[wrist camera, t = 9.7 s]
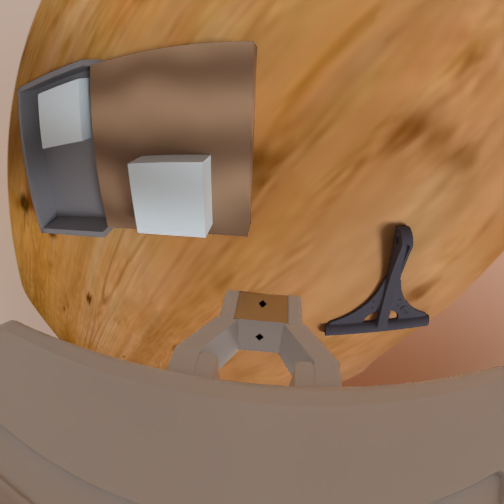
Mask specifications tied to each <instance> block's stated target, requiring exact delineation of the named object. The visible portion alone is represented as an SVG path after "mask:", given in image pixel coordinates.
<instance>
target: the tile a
mask: <svg viewBox="0 0 504 504" xmlns="http://www.w3.org/2000/svg"><path fill="white" fill-rule="evenodd" d="M38 108H39V121H40V131H41V140H42V148H43V149H45V148H50V147H54V146H59V145H64V144H69V143H74V142H79V141H84V140H86V139H89V138H92V137H93V130H92V117H91V99H90V78H80V79H76V80H73V81H70V82H67V83H65V84H62V85H59V86H57V87H54V88H51V89H49V90H47V91H44V92H42V93H39V94H38Z"/></svg>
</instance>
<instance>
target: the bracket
mask: <svg viewBox="0 0 504 504" xmlns="http://www.w3.org/2000/svg"><path fill="white" fill-rule="evenodd" d="M412 247H413V235H412V231H411V229H410V227H409V226H396V231H395V237H394V243H393V249H392V254H391V259H390V264H389V269H388V274H387V278H384V280H383V282H382V283H381V285H380V287H379V288H378V290H377V291H376V292H375V294H374V295H373V296H372V297H371V298H370V299H369V300H368V301H367V302H366V303H364V304H363V305H362V306H360V307H359V308H357V309H356V310H354V311H352V312H351V313H349V314H347V315H345V316H342V317H340V318H337V319H335V320H332V321H330V322H329V323H327V324H326V330H325V335H326V336H327V335H343V334H356V333H368V332H379V331H388V330H397V329H405V328H413V327H420V326H427V325H428V324H429V316H428V314H427V315H426V313H425V312H422V311H419V310H417V309H415V308H413V307H412V306H411V305H410V304H408V302H407V301H406V300H405V299H404V297H403V294H402V291H401V280H400V277H401V274H402V271H403V269H404V266H405V264H406V261H407V259H408V256H409V254H410V252H411V250H412ZM390 310H393V311H396V312H397V313H398V318H393V319H389V314H390ZM377 311H378V314H377V317H376V319H375V320H371V321H364V319H365V318H366V317H367V316H368V315H370V314H371V313H374V312H377Z"/></svg>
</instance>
